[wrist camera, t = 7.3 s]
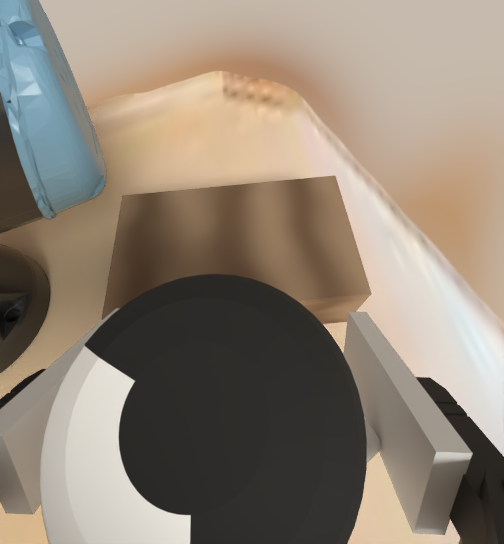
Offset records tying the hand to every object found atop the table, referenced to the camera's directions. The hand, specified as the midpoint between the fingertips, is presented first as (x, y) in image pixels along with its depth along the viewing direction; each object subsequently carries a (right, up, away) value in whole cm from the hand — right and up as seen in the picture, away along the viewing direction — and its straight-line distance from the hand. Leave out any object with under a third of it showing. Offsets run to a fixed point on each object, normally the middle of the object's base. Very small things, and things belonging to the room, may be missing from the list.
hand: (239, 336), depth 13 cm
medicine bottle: (0, -5, +3) cm, 6 cm away
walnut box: (-1, +3, +17) cm, 17 cm away
